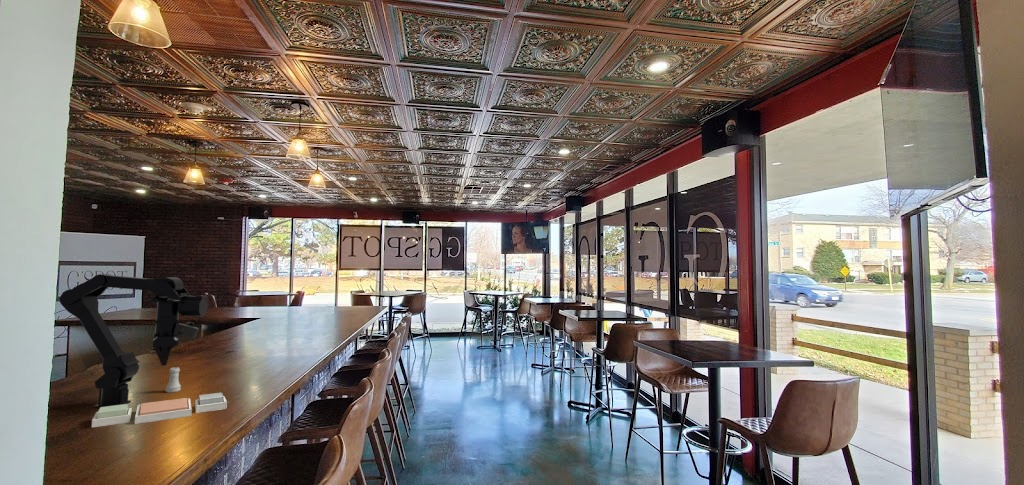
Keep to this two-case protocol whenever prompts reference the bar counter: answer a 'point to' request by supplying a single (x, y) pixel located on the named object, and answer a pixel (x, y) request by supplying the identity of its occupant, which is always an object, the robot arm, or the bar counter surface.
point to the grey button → (210, 398)
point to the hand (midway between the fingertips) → (164, 365)
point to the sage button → (112, 411)
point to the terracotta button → (163, 406)
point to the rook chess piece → (173, 381)
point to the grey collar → (210, 406)
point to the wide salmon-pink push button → (162, 415)
